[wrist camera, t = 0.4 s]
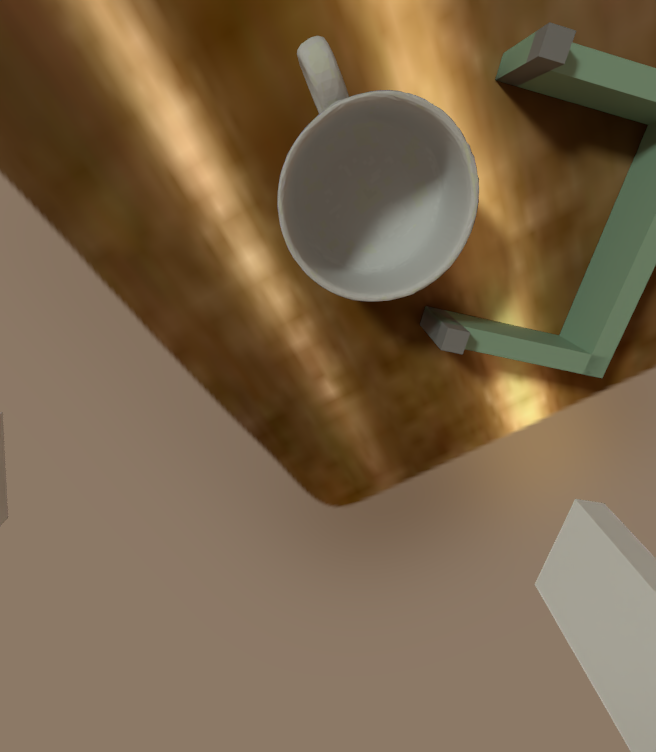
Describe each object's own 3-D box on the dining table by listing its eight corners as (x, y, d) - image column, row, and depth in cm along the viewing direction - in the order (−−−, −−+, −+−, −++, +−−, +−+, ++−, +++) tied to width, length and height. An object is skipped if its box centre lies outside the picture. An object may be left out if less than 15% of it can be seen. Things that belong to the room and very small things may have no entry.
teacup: (451, 256, 34) (492, 276, 27) (307, 295, 35) (307, 325, 28) (415, 33, 29) (454, -19, 22) (247, 83, 30) (228, 48, 22)
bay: (503, 53, 30) (549, 22, 24) (678, 105, 31) (759, 88, 26) (419, 324, 36) (440, 349, 31) (568, 357, 38) (615, 386, 32)
